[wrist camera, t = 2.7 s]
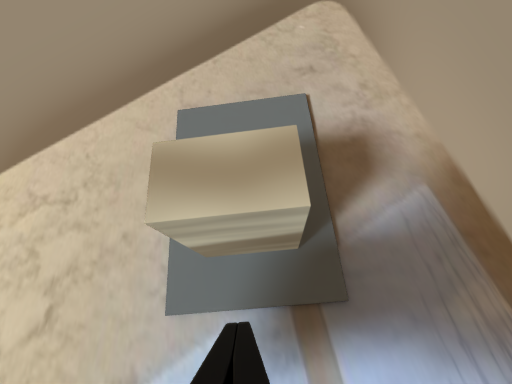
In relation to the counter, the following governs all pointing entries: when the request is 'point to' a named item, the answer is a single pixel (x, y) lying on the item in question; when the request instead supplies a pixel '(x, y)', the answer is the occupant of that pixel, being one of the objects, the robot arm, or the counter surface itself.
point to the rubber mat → (261, 263)
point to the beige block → (230, 191)
